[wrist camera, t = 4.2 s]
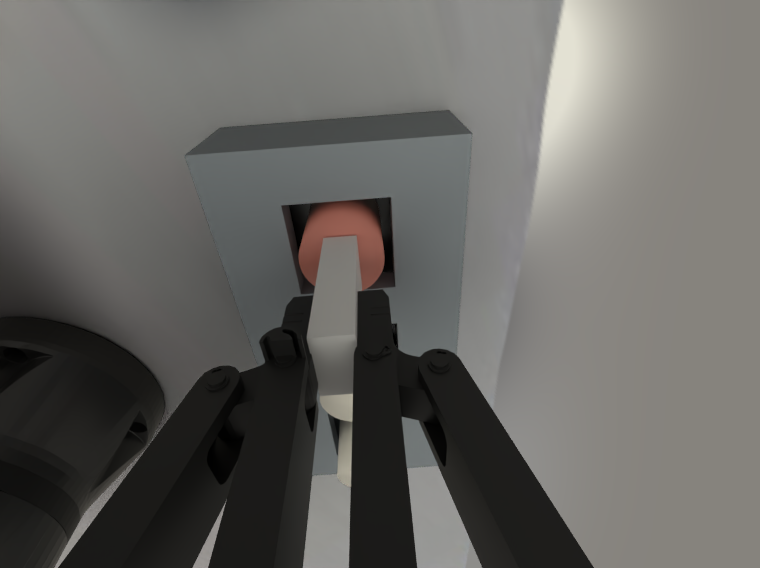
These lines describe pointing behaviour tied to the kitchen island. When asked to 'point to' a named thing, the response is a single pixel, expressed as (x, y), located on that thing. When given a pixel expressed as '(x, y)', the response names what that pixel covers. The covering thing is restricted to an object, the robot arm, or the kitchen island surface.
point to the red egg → (344, 222)
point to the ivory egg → (345, 452)
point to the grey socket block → (341, 183)
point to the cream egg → (338, 406)
